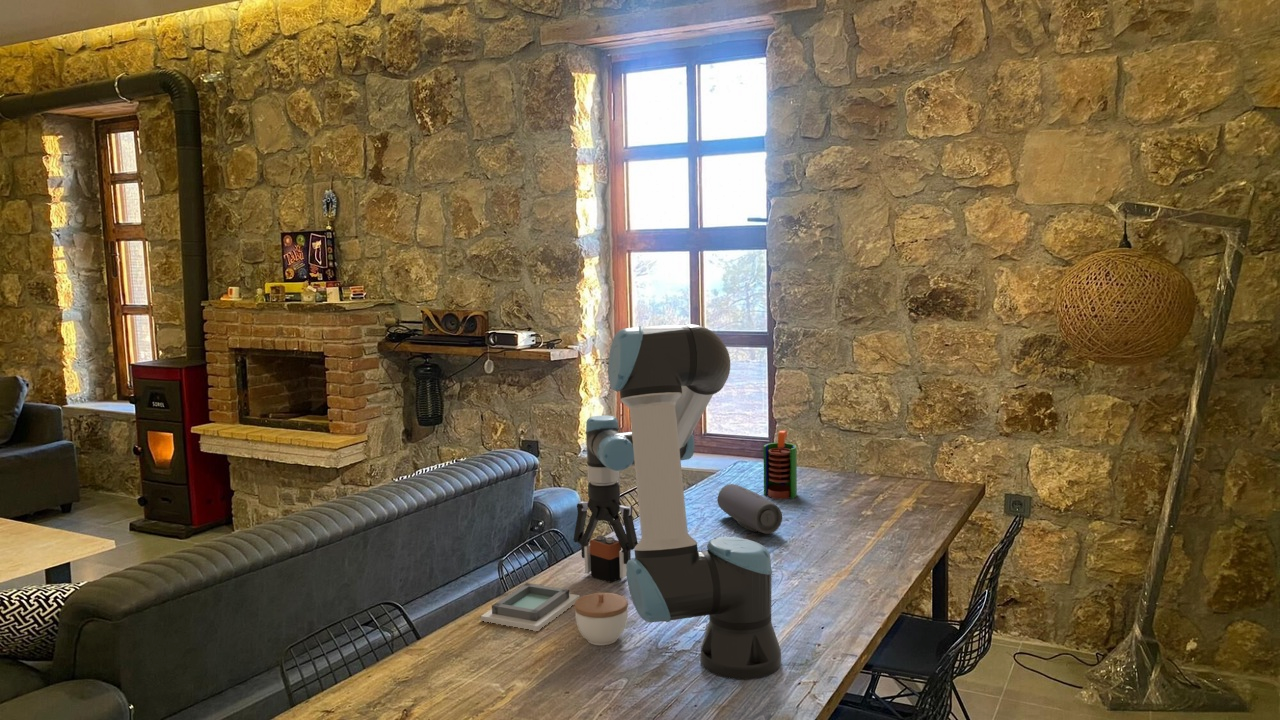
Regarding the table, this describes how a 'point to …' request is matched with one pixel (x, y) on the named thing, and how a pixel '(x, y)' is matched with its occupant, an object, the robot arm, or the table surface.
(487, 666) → the table surface
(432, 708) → the table surface
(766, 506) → the bluetooth speaker
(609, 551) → the battery
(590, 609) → the lidded jar
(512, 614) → the charging dock
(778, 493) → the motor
